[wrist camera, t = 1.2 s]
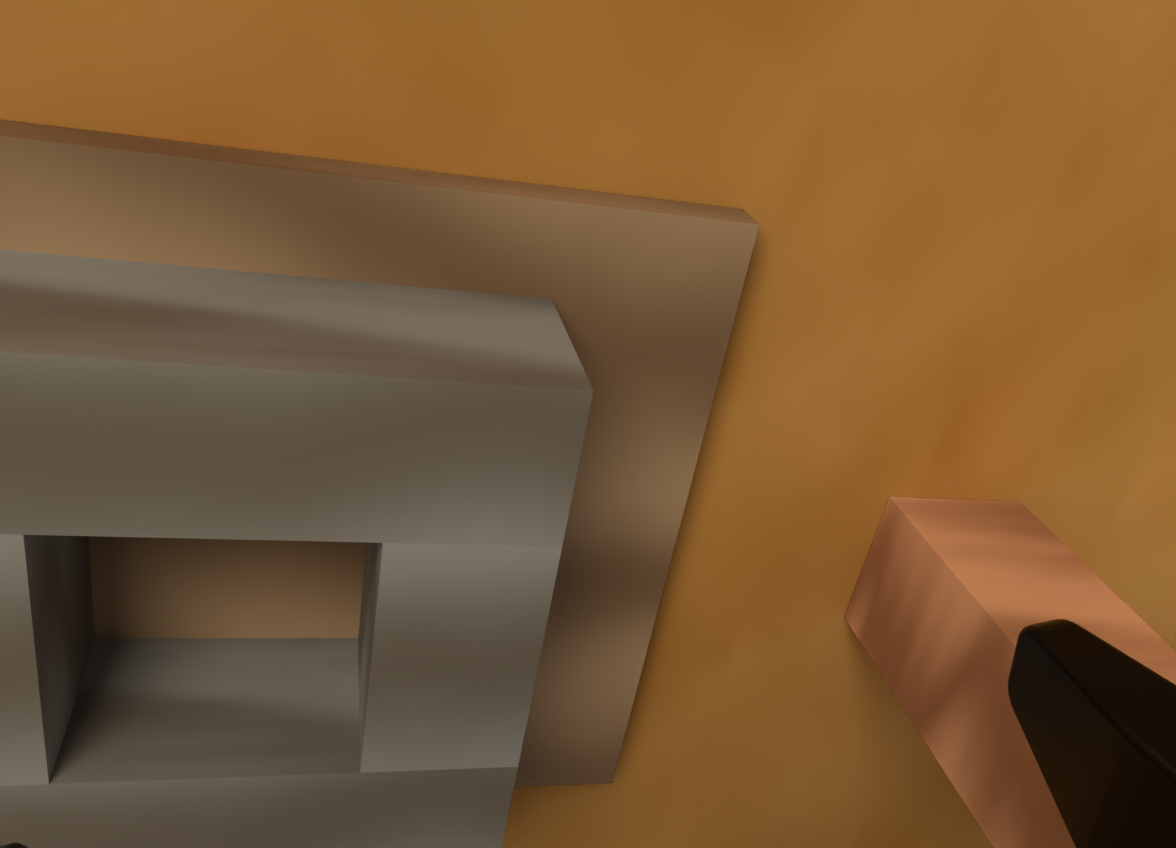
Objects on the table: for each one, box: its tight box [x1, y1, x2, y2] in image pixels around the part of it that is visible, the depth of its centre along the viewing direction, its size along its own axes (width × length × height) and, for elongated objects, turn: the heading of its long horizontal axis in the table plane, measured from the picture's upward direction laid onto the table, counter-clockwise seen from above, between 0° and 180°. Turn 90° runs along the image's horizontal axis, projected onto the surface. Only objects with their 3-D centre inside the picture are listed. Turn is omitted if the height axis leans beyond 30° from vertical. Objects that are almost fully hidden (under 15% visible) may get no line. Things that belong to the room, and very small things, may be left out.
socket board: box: [0, 120, 760, 848], centre depth 20 cm, size 16×20×5 cm
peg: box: [844, 497, 1176, 848], centre depth 23 cm, size 4×4×10 cm
